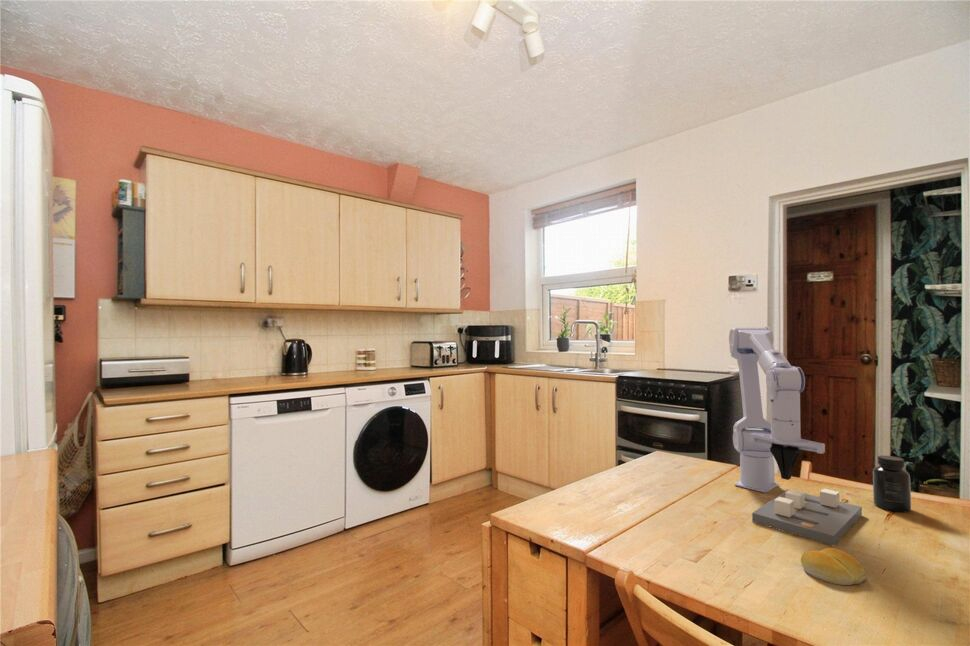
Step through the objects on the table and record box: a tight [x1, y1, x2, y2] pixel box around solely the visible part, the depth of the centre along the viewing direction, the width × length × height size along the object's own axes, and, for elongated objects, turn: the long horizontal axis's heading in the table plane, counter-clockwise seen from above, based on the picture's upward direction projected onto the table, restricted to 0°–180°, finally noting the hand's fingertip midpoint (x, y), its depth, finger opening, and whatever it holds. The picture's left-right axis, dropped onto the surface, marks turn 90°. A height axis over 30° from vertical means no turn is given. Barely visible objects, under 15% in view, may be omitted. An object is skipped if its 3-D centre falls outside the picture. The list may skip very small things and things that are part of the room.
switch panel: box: [751, 489, 863, 547], centre depth 104 cm, size 23×15×2 cm, turn 129°
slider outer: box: [774, 497, 795, 517], centre depth 102 cm, size 3×3×3 cm
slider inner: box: [819, 488, 840, 508], centre depth 107 cm, size 3×3×3 cm
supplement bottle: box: [872, 455, 912, 513], centre depth 110 cm, size 7×7×12 cm
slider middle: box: [785, 489, 806, 509], centre depth 106 cm, size 3×3×3 cm
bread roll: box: [800, 547, 866, 586], centre depth 81 cm, size 8×9×4 cm
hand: (786, 478), depth 105 cm, fingers closed
